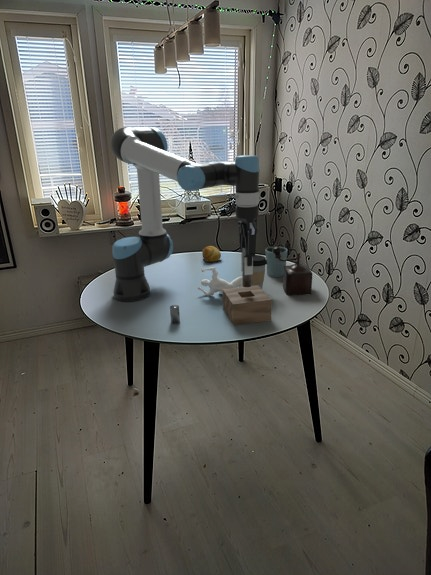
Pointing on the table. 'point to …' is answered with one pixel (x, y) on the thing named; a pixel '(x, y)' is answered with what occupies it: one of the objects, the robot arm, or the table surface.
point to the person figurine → (218, 283)
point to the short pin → (174, 314)
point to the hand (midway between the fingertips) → (246, 272)
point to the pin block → (246, 305)
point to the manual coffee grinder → (295, 276)
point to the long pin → (245, 278)
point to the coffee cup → (258, 270)
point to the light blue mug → (275, 262)
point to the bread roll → (211, 254)
